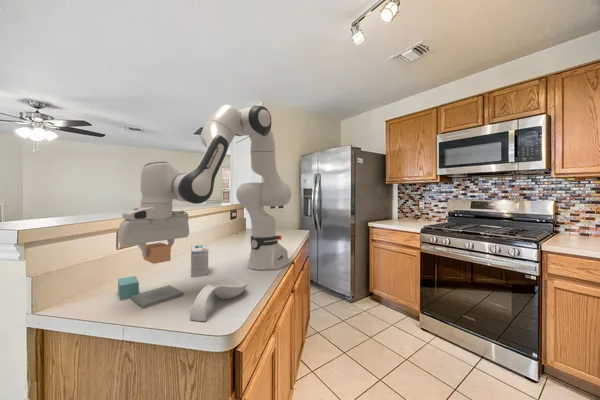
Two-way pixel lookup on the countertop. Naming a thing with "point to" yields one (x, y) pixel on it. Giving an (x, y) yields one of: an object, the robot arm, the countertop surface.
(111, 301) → the countertop surface
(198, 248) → the light bulb box
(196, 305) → the spoon rest
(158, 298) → the grey baseplate
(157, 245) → the terracotta brick
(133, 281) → the teal brick
